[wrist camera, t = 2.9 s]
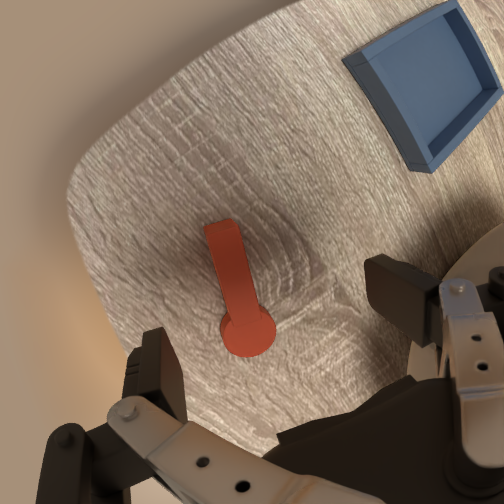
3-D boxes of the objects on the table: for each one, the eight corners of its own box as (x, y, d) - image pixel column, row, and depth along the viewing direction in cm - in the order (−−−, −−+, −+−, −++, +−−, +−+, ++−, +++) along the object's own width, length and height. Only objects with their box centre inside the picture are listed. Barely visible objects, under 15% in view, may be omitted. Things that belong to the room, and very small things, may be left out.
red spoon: (188, 230, 19) (190, 239, 17) (245, 213, 20) (254, 220, 18) (228, 354, 22) (234, 373, 20) (275, 338, 23) (285, 355, 21)
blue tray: (341, 59, 18) (360, 50, 16) (436, 4, 18) (455, -3, 16) (409, 171, 22) (432, 174, 19) (485, 93, 22) (504, 93, 19)
